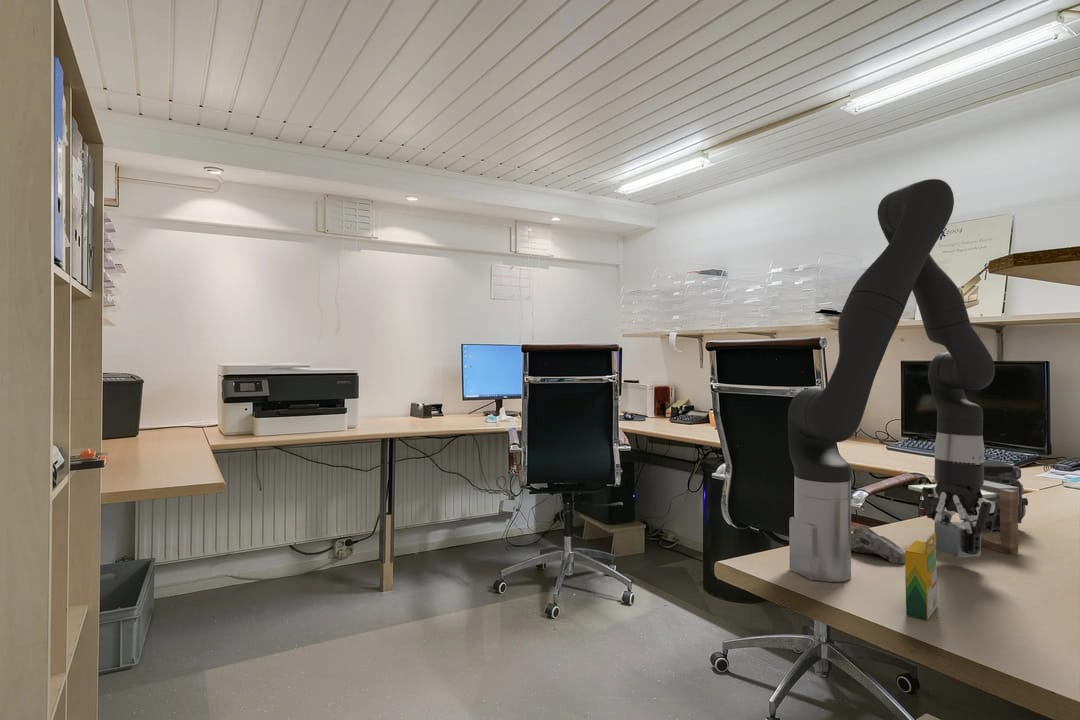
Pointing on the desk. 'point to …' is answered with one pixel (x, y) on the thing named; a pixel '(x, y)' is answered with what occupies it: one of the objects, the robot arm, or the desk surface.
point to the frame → (1006, 523)
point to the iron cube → (952, 539)
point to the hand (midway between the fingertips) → (957, 548)
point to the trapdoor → (988, 490)
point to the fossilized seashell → (876, 545)
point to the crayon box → (921, 579)
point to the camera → (1006, 476)
